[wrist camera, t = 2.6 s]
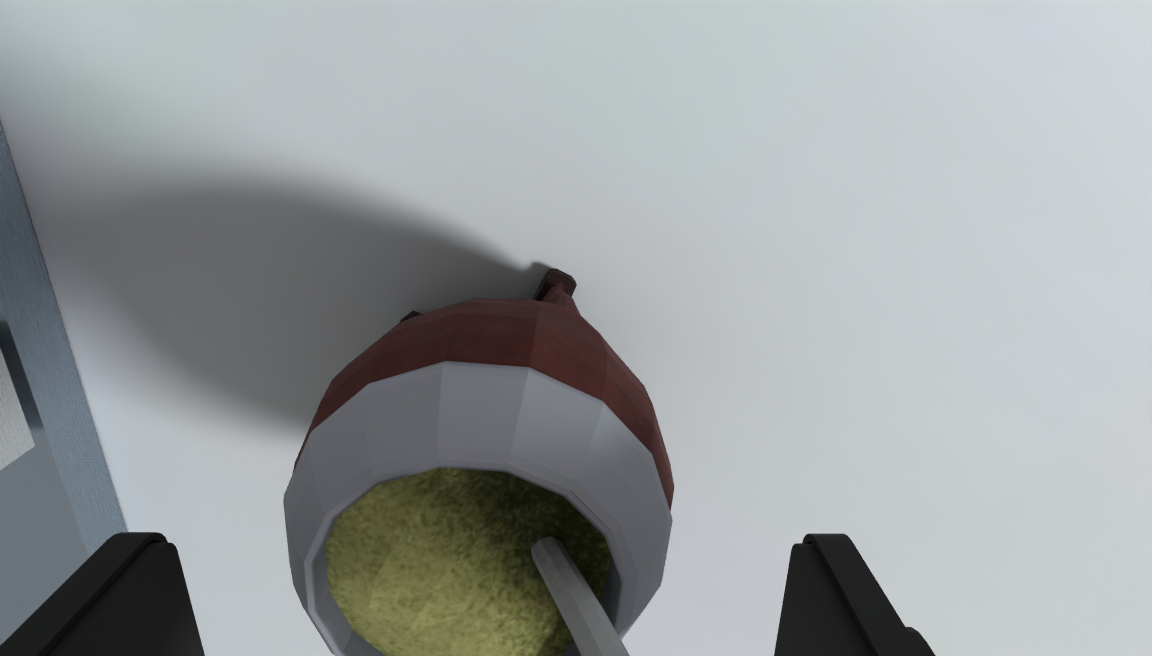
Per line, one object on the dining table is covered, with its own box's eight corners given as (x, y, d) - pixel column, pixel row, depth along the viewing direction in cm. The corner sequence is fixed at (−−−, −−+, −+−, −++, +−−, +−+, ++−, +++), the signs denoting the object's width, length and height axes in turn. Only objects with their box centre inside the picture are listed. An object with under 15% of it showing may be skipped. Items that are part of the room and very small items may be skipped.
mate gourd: (343, 419, 18) (-479, 1685, 4) (457, 161, 15) (-809, 1189, 1) (581, 519, 19) (611, 1727, 5) (723, 297, 16) (1549, 1520, 3)
